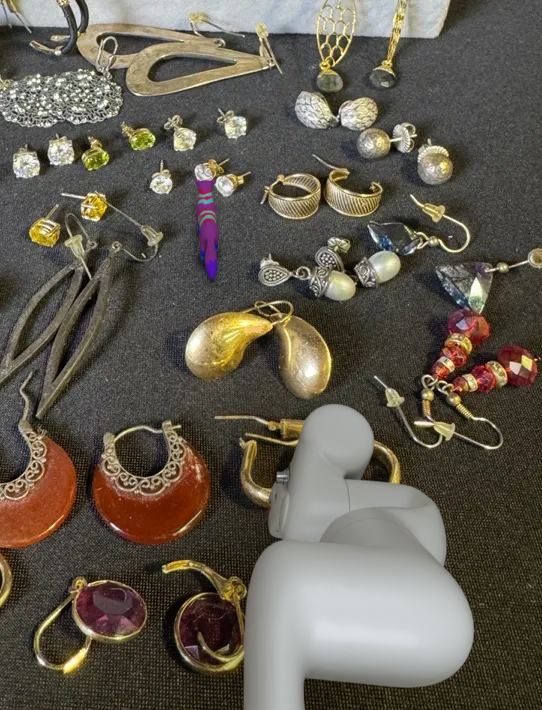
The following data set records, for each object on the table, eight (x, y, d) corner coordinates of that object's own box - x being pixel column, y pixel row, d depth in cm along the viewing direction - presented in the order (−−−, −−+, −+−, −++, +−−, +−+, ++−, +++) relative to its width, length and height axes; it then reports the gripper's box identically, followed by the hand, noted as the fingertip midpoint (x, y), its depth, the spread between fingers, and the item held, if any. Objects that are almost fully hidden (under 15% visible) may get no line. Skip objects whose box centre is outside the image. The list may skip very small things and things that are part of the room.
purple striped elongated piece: (211, 208, 150) (214, 168, 142) (222, 284, 138) (226, 245, 130) (191, 209, 150) (193, 169, 142) (201, 285, 138) (203, 246, 130)
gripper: (256, 511, 89) (243, 566, 103) (392, 516, 89) (360, 570, 103) (254, 447, 94) (241, 508, 108) (383, 452, 94) (353, 512, 108)
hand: (299, 538), depth 105 cm, fingers closed
